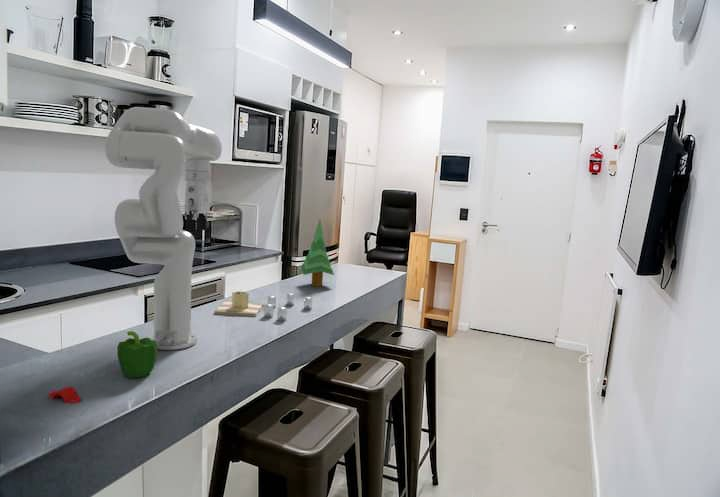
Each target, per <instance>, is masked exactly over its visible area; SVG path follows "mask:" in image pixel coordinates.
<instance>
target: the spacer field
mask: <svg viewBox="0 0 720 497" xmlns="http://www.w3.org/2000/svg"><path fill="white" fill-rule="evenodd" d="M285 296H286V298H285V306H278V307H277V296H276V295H273V294H272V295H271V294H270V295H269V294H268V295H267V303H264V306H263V317H264V318H267V319H269V318H271V319H272V318H273V317H274V309H275V308H277V317H276V320H277V321H279V322H285V321H287V316H288V315H287V314H288V312H287V311H288V310H287V309H288V307H286V306H291V307H292V306H294V305H295V293H293V292H289V293H286V294H285ZM303 309H304V310H308V311H309V310H312V309H313V297H312V296H304V297H303Z"/></svg>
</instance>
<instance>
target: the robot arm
mask: <svg viewBox="0 0 720 497" xmlns="http://www.w3.org/2000/svg"><path fill="white" fill-rule="evenodd" d="M222 150H223V147H222V142H221V139H220V138H219V136H218V135H217V133H215V132H214V131H212V130H210V129H208V128H204V127H201V126H198V125H195V124H192V123H189V122H188V121H186V120H185V119H184V118H183V117H182V116H181V115H180V113H178V112H176V111H175V110H171V109H168V108H158V107H157V108H156V107H144V106H134V107H130V108H128V109H127V110H126V111H124V112H123V113H122V114H121V116H120V117H119V118H118V120H117V121H116V123H115V124H114V125H113V127H112V128H111V130H110V131H109V134H107V138H106V140H105V145H104V153H105V156H106V159H107V160H108V162H109V163H110V164H111V165H112V166H114V167H118V168H122V169H137V170H155V172H154V173H152V174H151V175H150V176H148V178H147V179H146V180H145V181H144V182H143V184H142V185H141V186H140V188H139V189H138V190H139V191H138V196H139V198H128V199H127V198H126V199H123V200H122V201H120V202H119V204H118V205H117V206H116V208H115V211H114V225H115V230H116V232H117V235H118V237H119V240H120V242H121V245H122V247H123V250H124V252H125V255H126V256H127V258H128V260H130V261H131V262H133V263H137V264H149V265H150V264H152V265H163V266H164V267H163V268H162V269H161V270H160V272H158V274H157V275H156V276H155V278H154V281H153V335H151V336H150V337H148V338H149V339H151V340H152V341H156V343H157V350H160V351H161V350H163V351H174V350H175V351H177V350H182V349H183V350H184V349H187V348H189V347H192V346H193V345H195V344H196V343H197V336H196V335H195V334H193V333H192V332H191V331H192V330H191V329H192V328H191V327H192V326H191V325H192V324H191V323H192V321H191V320H192V272H193V264H194V263H193V262H194V256H195V250H196V240H195V239H196V238H195V237H194V236H193V234H192V233H197V231H206V230H207V228H208V227H207V226H208V225H207V224H208V219H207V218H208V214H207V213H209V212H210V207H211V204H210V185H209V183H210V182H211V181H210V178H211V177H210V176H211V175H210V174H211V173H210V172H211V162H215V161H218V159H220V157H221V155H222ZM183 170H184V182H186V184H185V186H186V187H185V193H184V194H185V195H184V196H185V198H184V211H185V212H184V218H185V222H184V219H183V212H182V209H181V204H180V200H179V196H178V187H179V185H180V182H181V178H182V175H183ZM184 225H185V227H184ZM183 227H184V228H185V229H183Z"/></svg>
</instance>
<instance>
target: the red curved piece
mask: <svg viewBox="0 0 720 497" xmlns="http://www.w3.org/2000/svg"><path fill="white" fill-rule="evenodd" d="M48 397H49V398H51V399H52V400H53V399H56V398H59V397H61V398H62V400H63V403H66V404H67V403H70V404H77V403H79V402H81V401H82V397H80V396H79V394H78V392H77V391H76V389H75V387H73V386H70V385H69V386H66V387H63V388H61V389H59V390H54V391H50V392H49V393H48Z"/></svg>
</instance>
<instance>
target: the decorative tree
mask: <svg viewBox="0 0 720 497" xmlns="http://www.w3.org/2000/svg"><path fill="white" fill-rule="evenodd" d="M318 220H319V221H318V223H317V226H316V229H315V231H314V235H313V241H312V243H311V245H310V248H309V250H308V253H307V255H306V256H305V259H304V260H303V263H302V264H301V265H300V267H301V271H302V275H310V274H311V286H312V287H323V280H324V279H323V278H324V273H325V274H329V275H333V276H334V275H335V272H334V270H333V268H332V265H331V262H330V259H329V257H328V254H327V253H328V252H327V249H326V245H325V238H324V232H323V227H322V221H321V218H319V219H318Z"/></svg>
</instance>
